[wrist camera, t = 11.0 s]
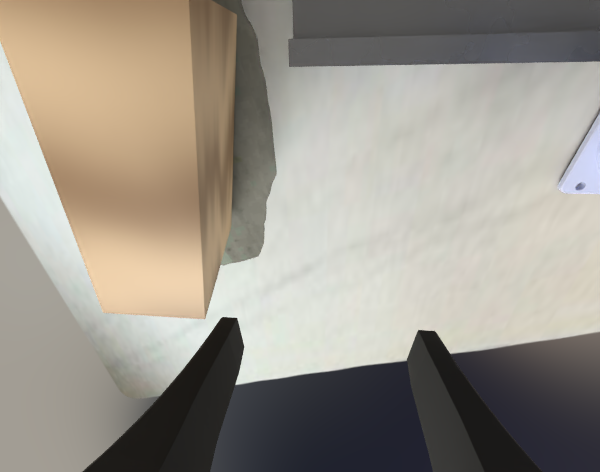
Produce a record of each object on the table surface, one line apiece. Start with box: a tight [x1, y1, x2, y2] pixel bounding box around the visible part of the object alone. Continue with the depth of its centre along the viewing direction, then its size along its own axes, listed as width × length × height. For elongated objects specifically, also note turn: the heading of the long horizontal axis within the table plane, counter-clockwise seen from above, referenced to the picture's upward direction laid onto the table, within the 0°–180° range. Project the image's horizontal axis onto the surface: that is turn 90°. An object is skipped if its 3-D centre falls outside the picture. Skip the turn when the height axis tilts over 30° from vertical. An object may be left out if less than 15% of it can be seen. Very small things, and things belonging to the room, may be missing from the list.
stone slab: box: [212, 0, 276, 265], centre depth 17 cm, size 22×3×10 cm
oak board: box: [0, 0, 237, 319], centre depth 13 cm, size 12×4×8 cm, turn 171°
